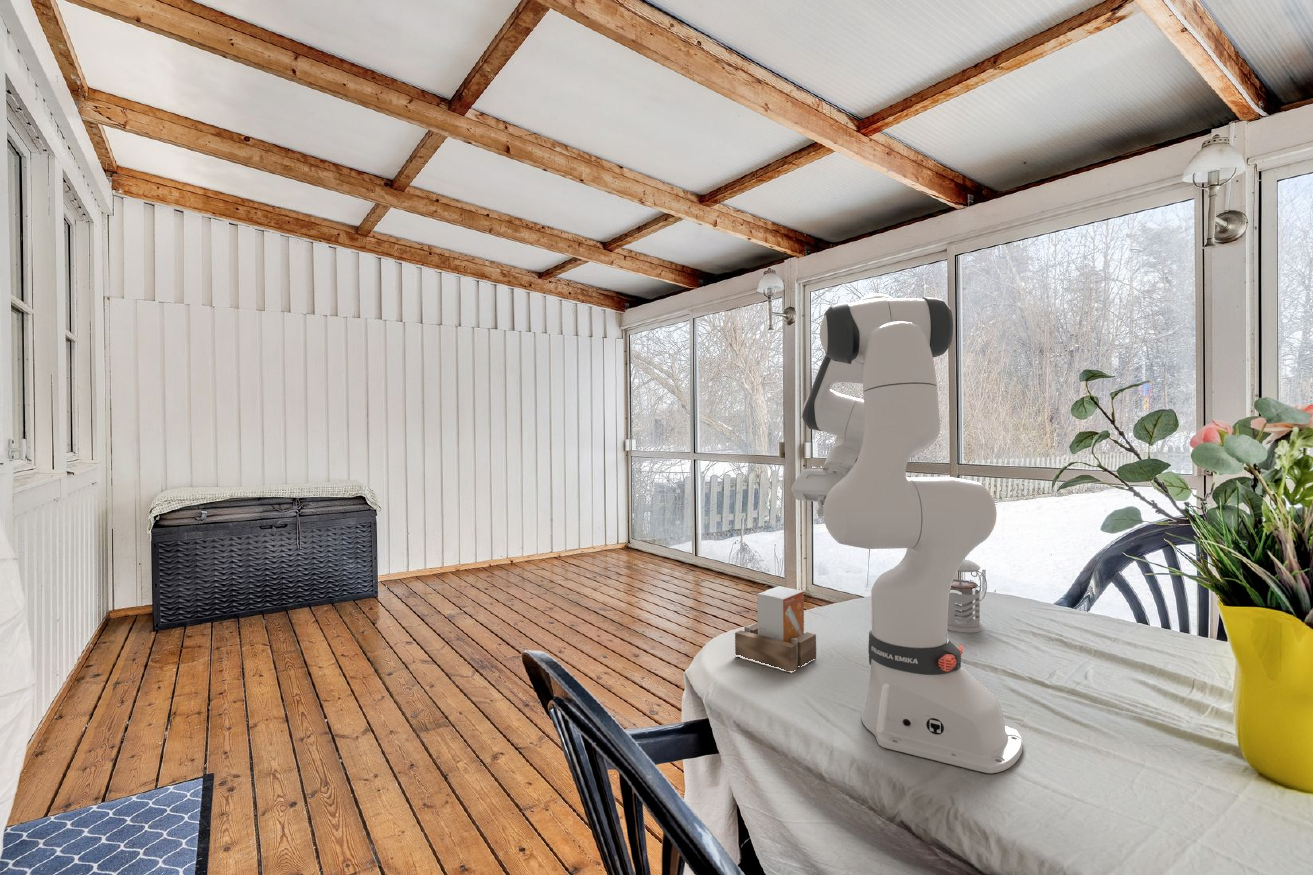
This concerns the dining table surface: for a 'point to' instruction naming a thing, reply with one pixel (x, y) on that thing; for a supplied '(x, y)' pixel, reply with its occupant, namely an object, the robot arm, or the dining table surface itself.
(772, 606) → the small box
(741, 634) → the brown u-shaped piece
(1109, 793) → the dining table surface
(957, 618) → the french press
